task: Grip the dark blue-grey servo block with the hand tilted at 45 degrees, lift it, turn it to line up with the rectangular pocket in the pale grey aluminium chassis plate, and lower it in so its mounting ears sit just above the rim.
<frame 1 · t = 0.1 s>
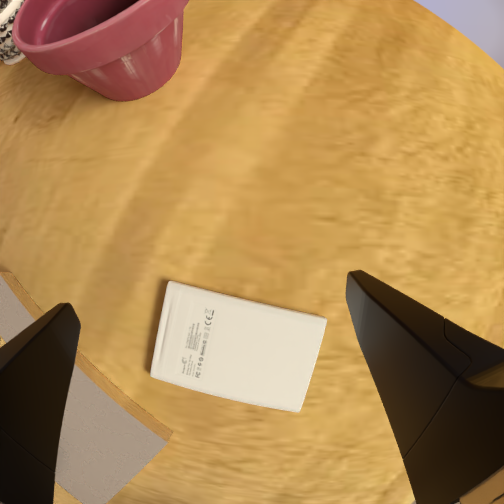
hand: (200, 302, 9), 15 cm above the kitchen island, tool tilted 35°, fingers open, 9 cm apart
plant pot 2: (138, 66, 25), on the kitchen island
decorative candle: (26, 41, 26), on the kitchen island
chassis plate: (48, 402, 23), on the kitchen island
external hard drive: (236, 346, 25), on the kitchen island
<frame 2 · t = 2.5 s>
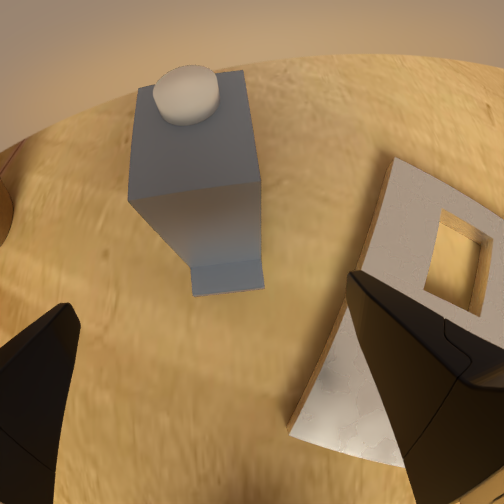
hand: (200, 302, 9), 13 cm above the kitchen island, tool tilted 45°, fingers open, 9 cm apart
servo block: (225, 236, 23), on the kitchen island
chassis plate: (435, 325, 21), on the kitchen island
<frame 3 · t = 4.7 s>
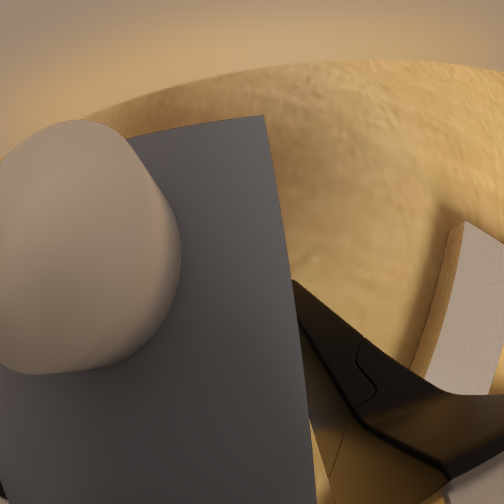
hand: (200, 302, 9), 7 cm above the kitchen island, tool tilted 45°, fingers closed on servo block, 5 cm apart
servo block: (228, 344, 15), on the kitchen island, touching gripper
chassis plate: (483, 430, 13), on the kitchen island
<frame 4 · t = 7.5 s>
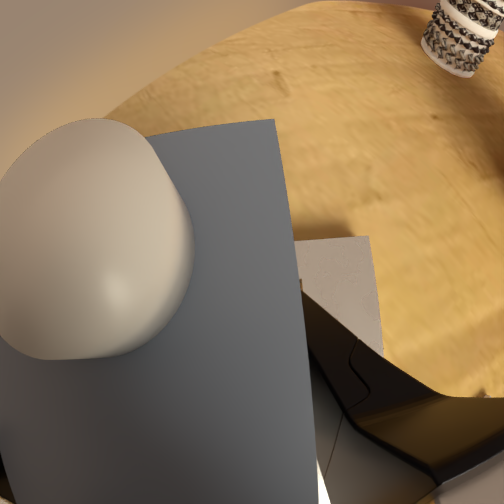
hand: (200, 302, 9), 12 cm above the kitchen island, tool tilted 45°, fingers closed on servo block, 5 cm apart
servo block: (231, 343, 16), point 5 cm above the kitchen island, touching gripper
decorative candle: (447, 57, 29), on the kitchen island
chassis plate: (264, 407, 20), on the kitchen island
when the fingers open (8 cm above the kitchen island, at t = 9.2 s): servo block stays where it is, resting in chassis plate.
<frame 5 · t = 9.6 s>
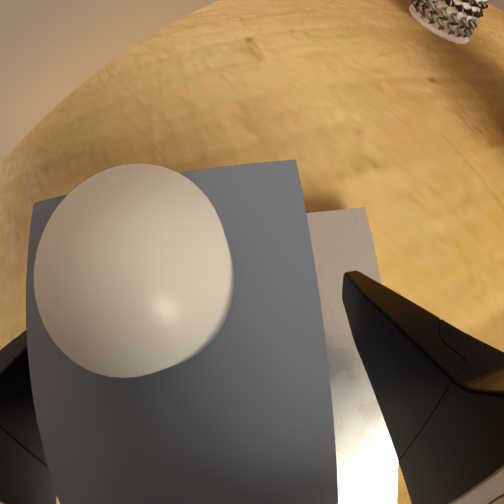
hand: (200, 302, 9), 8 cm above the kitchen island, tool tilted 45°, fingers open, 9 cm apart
servo block: (232, 343, 16), resting in chassis plate
decorative candle: (439, 24, 25), on the kitchen island
chassis plate: (242, 429, 15), on the kitchen island
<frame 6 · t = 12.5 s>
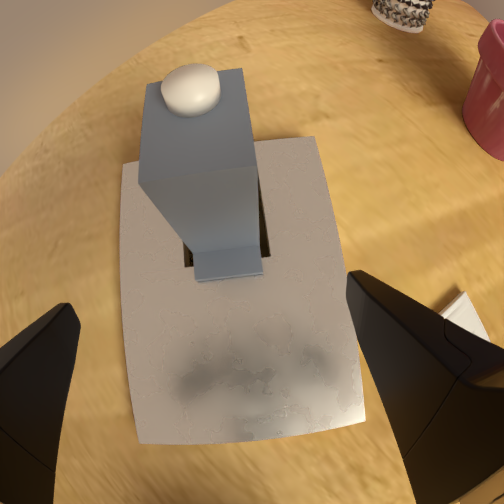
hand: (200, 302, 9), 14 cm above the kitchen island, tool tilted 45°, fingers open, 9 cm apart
plant pot 2: (489, 131, 27), on the kitchen island
servo block: (226, 225, 24), resting in chassis plate
decorative candle: (397, 18, 33), on the kitchen island
chassis plate: (232, 288, 23), on the kitchen island
external hard drive: (455, 376, 21), on the kitchen island
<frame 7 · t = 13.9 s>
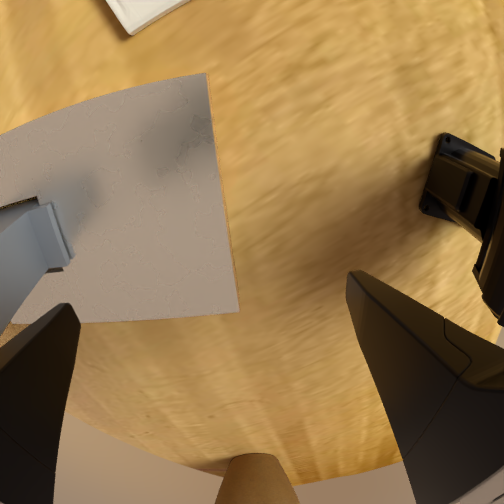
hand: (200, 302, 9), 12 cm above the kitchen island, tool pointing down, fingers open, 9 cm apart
servo block: (30, 228, 20), resting in chassis plate
plant pot: (252, 460, 41), on the kitchen island
chassis plate: (77, 220, 20), on the kitchen island
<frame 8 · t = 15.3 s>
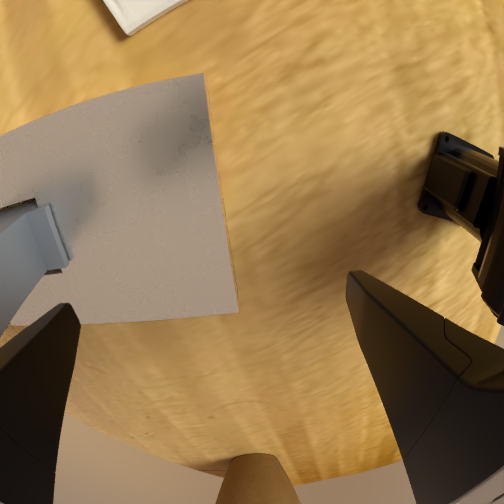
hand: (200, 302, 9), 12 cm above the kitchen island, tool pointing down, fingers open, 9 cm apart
servo block: (28, 230, 20), resting in chassis plate
plant pot: (252, 460, 41), on the kitchen island
chassis plate: (75, 221, 20), on the kitchen island
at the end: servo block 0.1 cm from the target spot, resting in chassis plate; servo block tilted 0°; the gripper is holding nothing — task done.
